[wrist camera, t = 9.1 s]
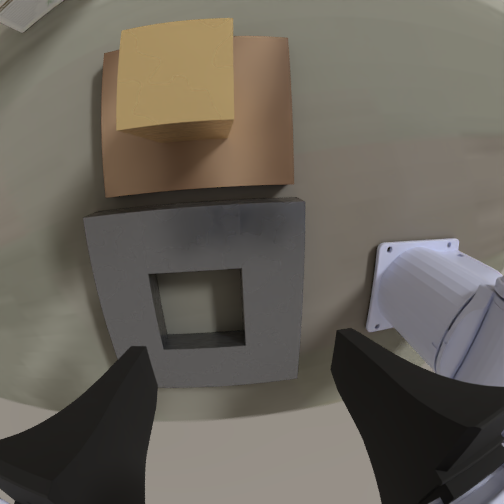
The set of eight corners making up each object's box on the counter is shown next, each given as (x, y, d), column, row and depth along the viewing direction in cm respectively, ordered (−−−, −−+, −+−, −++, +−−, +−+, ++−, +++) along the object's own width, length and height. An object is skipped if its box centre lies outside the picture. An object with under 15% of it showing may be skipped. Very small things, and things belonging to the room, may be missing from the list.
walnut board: (283, 44, 15) (287, 37, 14) (289, 182, 19) (293, 184, 17) (110, 58, 14) (104, 53, 13) (112, 195, 17) (105, 197, 16)
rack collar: (296, 197, 19) (305, 201, 17) (291, 363, 23) (297, 378, 21) (95, 212, 18) (83, 218, 16) (132, 371, 22) (128, 386, 20)
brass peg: (226, 77, 15) (232, 18, 7) (227, 138, 16) (234, 119, 9) (161, 82, 14) (121, 30, 7) (161, 143, 16) (116, 130, 8)
